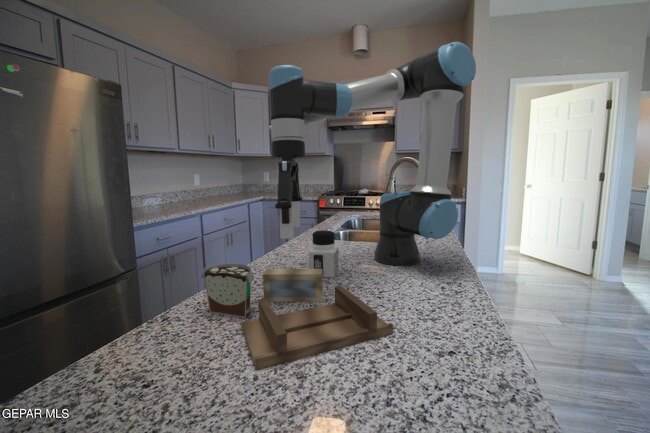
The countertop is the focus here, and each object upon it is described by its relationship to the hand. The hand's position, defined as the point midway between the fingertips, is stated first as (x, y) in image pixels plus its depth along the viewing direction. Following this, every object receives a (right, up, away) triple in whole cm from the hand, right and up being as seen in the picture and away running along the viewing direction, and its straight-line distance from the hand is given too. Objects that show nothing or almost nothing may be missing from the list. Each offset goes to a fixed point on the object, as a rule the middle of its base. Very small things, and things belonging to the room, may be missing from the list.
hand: (291, 232), depth 74 cm
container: (+8, -14, +21) cm, 26 cm away
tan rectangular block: (0, -17, +3) cm, 17 cm away
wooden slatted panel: (+6, -19, -13) cm, 23 cm away
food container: (-12, -18, -3) cm, 22 cm away
